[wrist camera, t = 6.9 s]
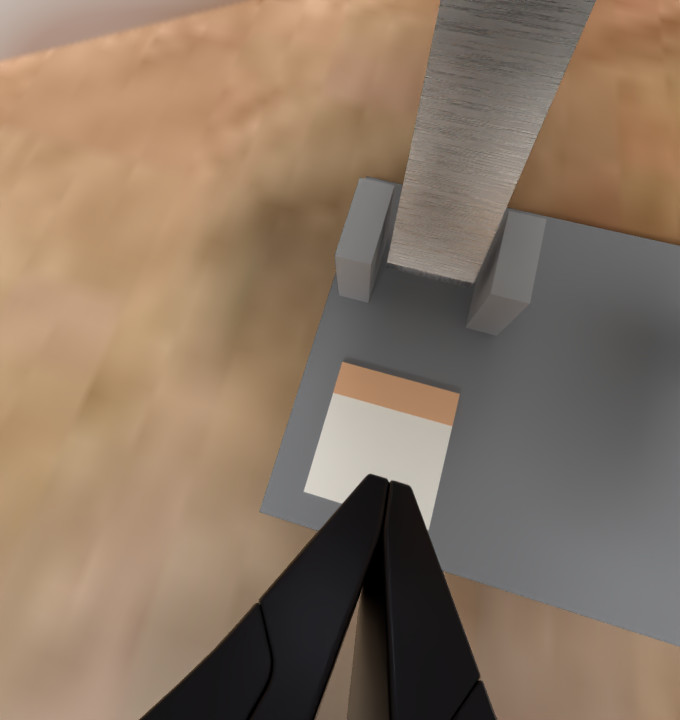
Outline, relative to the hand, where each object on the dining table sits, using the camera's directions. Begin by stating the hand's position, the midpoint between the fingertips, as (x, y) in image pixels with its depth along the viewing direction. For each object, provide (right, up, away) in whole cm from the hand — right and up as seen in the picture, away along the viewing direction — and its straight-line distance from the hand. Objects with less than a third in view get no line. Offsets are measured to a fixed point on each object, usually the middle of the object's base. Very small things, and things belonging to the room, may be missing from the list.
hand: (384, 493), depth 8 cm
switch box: (+8, +1, +8) cm, 12 cm away
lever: (+2, +6, +7) cm, 9 cm away
